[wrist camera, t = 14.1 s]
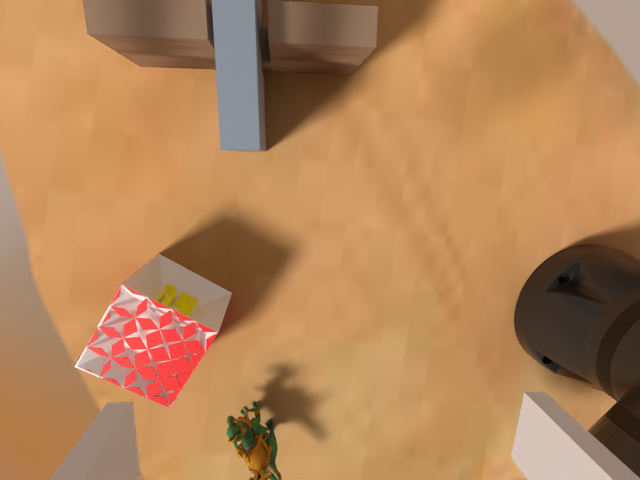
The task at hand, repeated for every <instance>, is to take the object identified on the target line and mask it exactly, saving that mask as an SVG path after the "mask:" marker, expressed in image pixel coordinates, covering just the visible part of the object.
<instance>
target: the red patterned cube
mask: <svg viewBox="0 0 640 480" xmlns="http://www.w3.org/2000/svg"><path fill="white" fill-rule="evenodd" d="M231 295H232V292H229V291H228V290H226V289H224V288H222V287H220V286H218V285H216V284H215V283H213V282H211V281H209V280H207V279H205V278H203V277H202V276H200V275H198V274H196V273H194V272H192V271H190V270H188V269H187V268H185V267H183V266H181V265H179V264H177V263H175V262H174V261H172V260H170V259H168V258H166V257H164V256H162V255H161V254H158V255H156V256H155V257H154V258H153V259H151V260H150V261H149V262H148V263H147V264H145V265H144V266H143V267H142V268H141V269H139V270H138V271H137V272H136V273H134V274H133V275H132V276H131V277H130V278H129V279H127V280H126V281H125V282H124V283H122V285H121V286H120V288H119V289H118V291H117V292H116V294H115V296H114V298H113V300H112V302H111V303H110V306H109V307H108V309H107V311H106V313H105V314H104V316H103V318H102V320H101V321H100V323H99V325H98V327H97V328H96V330H95V332H94V334H93V335H92V337H91V339H90V341H89V342H88V344H87V346H86V348H85V349H84V350H83V352H82V353H81V355H80V357H79V359H78V361H77V363H76V365H75V367H76V368H78V369H81V370H83V371H85V372H88V373H90V374H92V375H95V376H97V377H99V378H102V379H104V380H106V381H109V382H111V383H113V384H116V385H118V386H120V387H123V388H125V389H127V390H130V391H132V392H134V393H137V394H139V395H141V396H144V397H146V398H148V399H151V400H153V401H155V402H158V403H160V404H162V405H165V406H167V407H171V406H172V404H173V403H174V401H175V400H176V398H177V397H178V395H179V393H180V392H181V390H182V389H183V387H184V385H185V384H186V382H187V381H188V379H189V378H190V376H191V375H192V373H193V371H194V370H195V368H196V367H197V365H198V364H199V362H200V361H201V359H202V357H203V356H204V354H205V353H206V351H207V350H208V348H209V346H210V345H211V343H212V342H213V340H214V339H215V337H216V335H217V334H218V332H219V329H220V327H221V324H222V321H223V318H224V315H225V312H226V309H227V306H228V303H229V301H230V298H231Z"/></svg>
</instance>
